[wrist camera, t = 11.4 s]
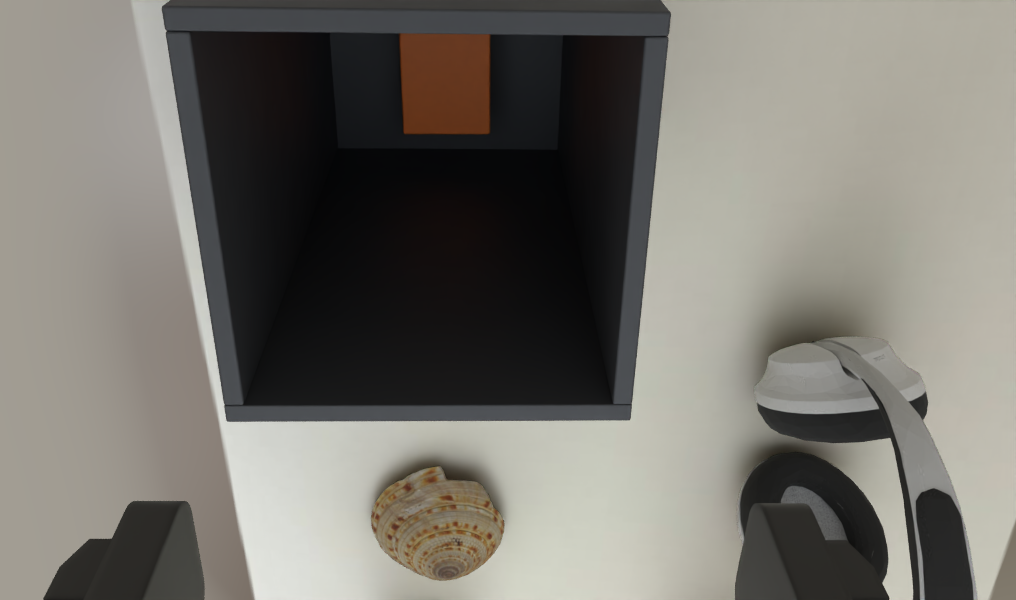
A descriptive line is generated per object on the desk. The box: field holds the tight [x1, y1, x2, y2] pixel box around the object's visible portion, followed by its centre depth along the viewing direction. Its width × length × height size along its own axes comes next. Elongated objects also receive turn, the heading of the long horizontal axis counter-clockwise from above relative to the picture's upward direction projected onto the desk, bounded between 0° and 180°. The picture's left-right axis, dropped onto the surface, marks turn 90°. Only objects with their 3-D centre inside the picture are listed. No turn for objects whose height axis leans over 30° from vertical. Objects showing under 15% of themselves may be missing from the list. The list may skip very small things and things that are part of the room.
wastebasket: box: [162, 0, 671, 422], centre depth 35 cm, size 12×12×23 cm
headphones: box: [737, 336, 978, 600], centre depth 49 cm, size 19×8×20 cm, turn 1°
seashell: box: [371, 466, 504, 581], centre depth 59 cm, size 8×6×8 cm
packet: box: [399, 33, 490, 134], centre depth 43 cm, size 7×4×4 cm, turn 179°
